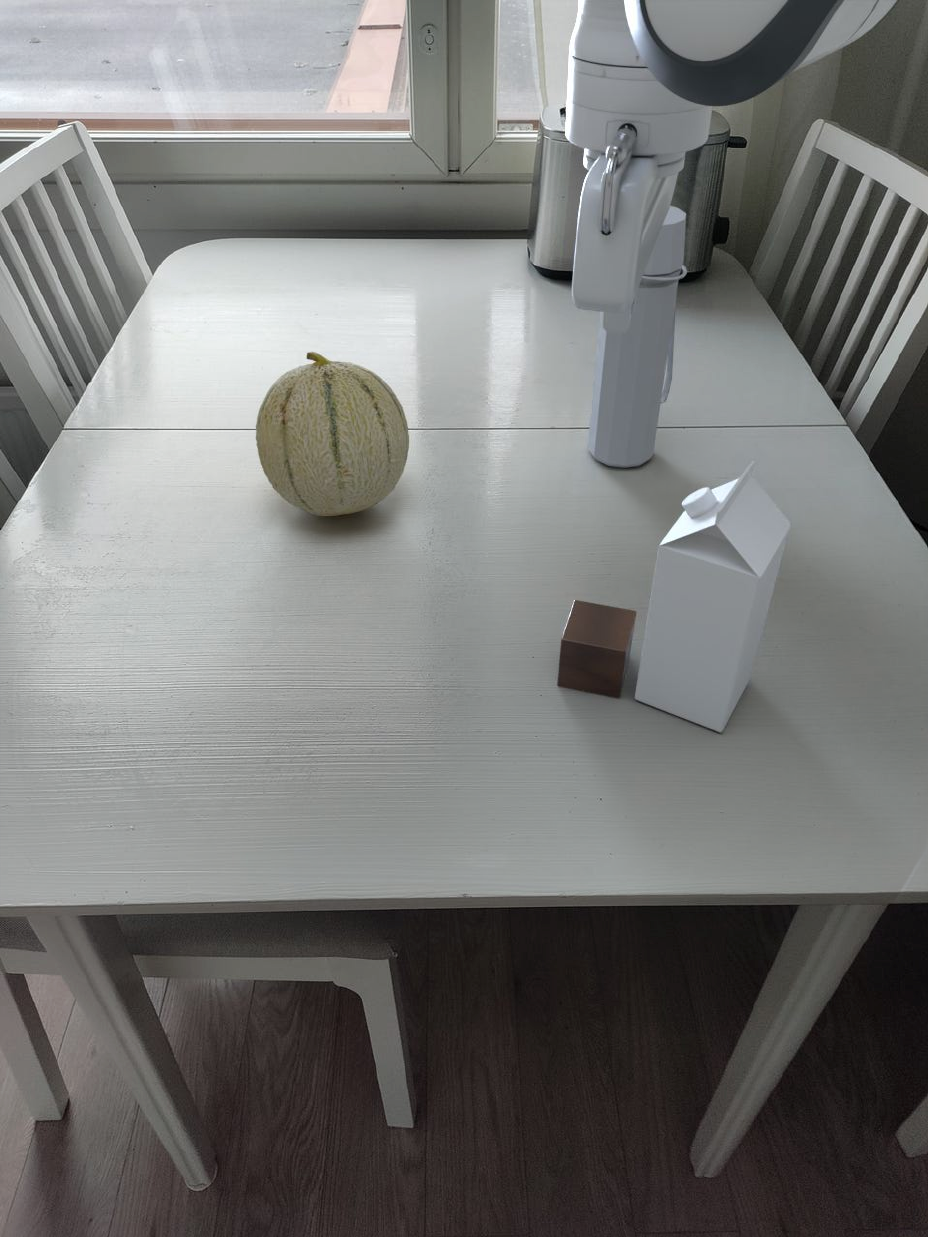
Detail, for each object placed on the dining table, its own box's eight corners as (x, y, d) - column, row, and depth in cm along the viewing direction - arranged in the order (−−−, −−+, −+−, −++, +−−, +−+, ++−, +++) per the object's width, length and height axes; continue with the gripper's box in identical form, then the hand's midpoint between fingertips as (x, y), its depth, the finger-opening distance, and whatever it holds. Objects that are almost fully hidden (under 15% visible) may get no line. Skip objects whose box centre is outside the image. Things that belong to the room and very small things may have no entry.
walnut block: (629, 657, 79) (636, 610, 75) (619, 698, 75) (626, 651, 72) (569, 645, 80) (574, 599, 76) (557, 686, 76) (561, 639, 73)
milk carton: (750, 678, 77) (804, 474, 64) (721, 735, 72) (773, 527, 60) (666, 648, 79) (703, 447, 67) (633, 701, 75) (665, 495, 62)
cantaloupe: (336, 565, 88) (320, 419, 78) (235, 507, 95) (208, 367, 86) (443, 498, 97) (441, 359, 87) (343, 449, 104) (330, 315, 94)
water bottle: (615, 480, 99) (644, 233, 83) (571, 446, 104) (590, 208, 88) (683, 456, 103) (724, 215, 86) (637, 425, 108) (668, 192, 92)
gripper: (670, 156, 50) (642, 396, 59) (706, 75, 65) (679, 276, 74) (552, 148, 52) (542, 384, 61) (614, 71, 67) (598, 269, 76)
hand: (618, 324), depth 68 cm, fingers closed
